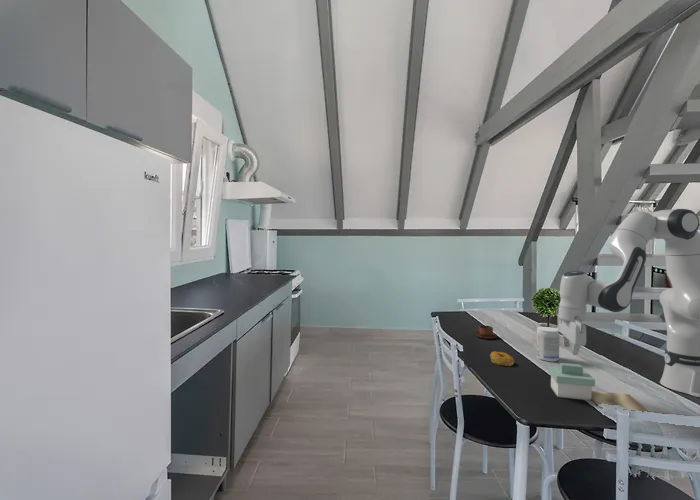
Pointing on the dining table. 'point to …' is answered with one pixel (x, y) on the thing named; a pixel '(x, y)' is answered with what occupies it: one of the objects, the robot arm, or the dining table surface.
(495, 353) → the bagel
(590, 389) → the storage box
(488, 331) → the cup and saucer
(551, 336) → the supplement tub
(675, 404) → the dining table surface
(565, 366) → the lid
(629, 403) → the cork mat
